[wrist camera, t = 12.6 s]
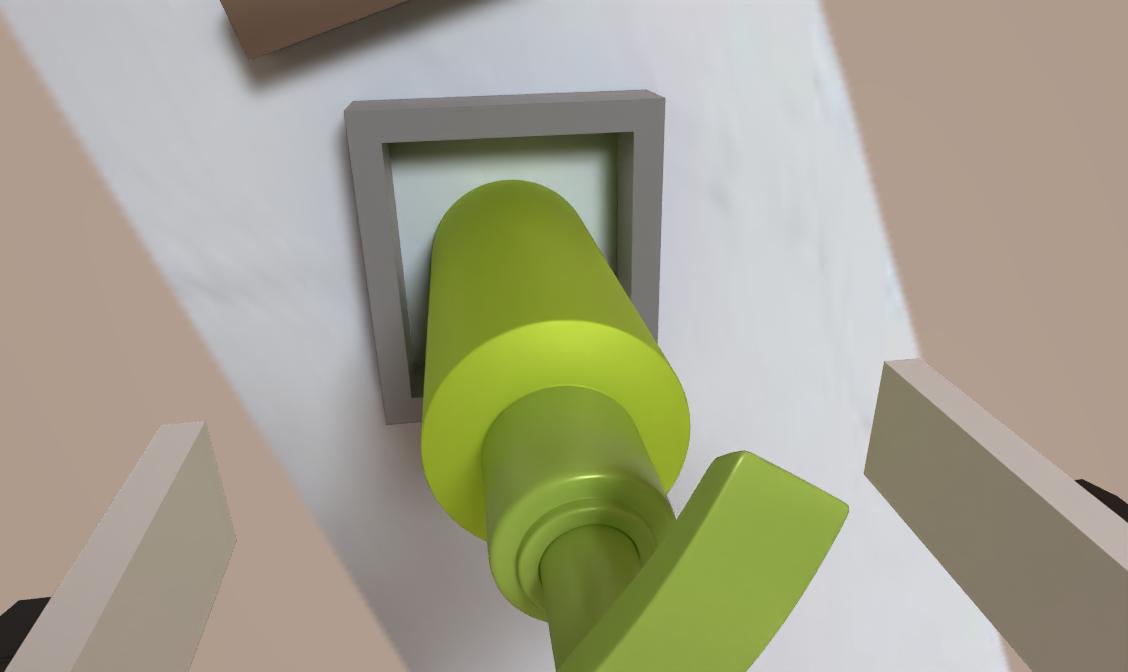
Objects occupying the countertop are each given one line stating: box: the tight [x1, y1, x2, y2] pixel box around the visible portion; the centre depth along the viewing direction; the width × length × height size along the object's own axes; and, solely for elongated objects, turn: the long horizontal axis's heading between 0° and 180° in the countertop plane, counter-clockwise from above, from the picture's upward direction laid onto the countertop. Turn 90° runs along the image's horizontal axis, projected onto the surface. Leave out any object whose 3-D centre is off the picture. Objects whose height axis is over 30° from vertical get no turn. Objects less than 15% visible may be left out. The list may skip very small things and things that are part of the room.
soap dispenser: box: [421, 180, 849, 672], centre depth 19 cm, size 6×7×20 cm
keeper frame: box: [344, 90, 665, 425], centre depth 27 cm, size 11×10×2 cm
